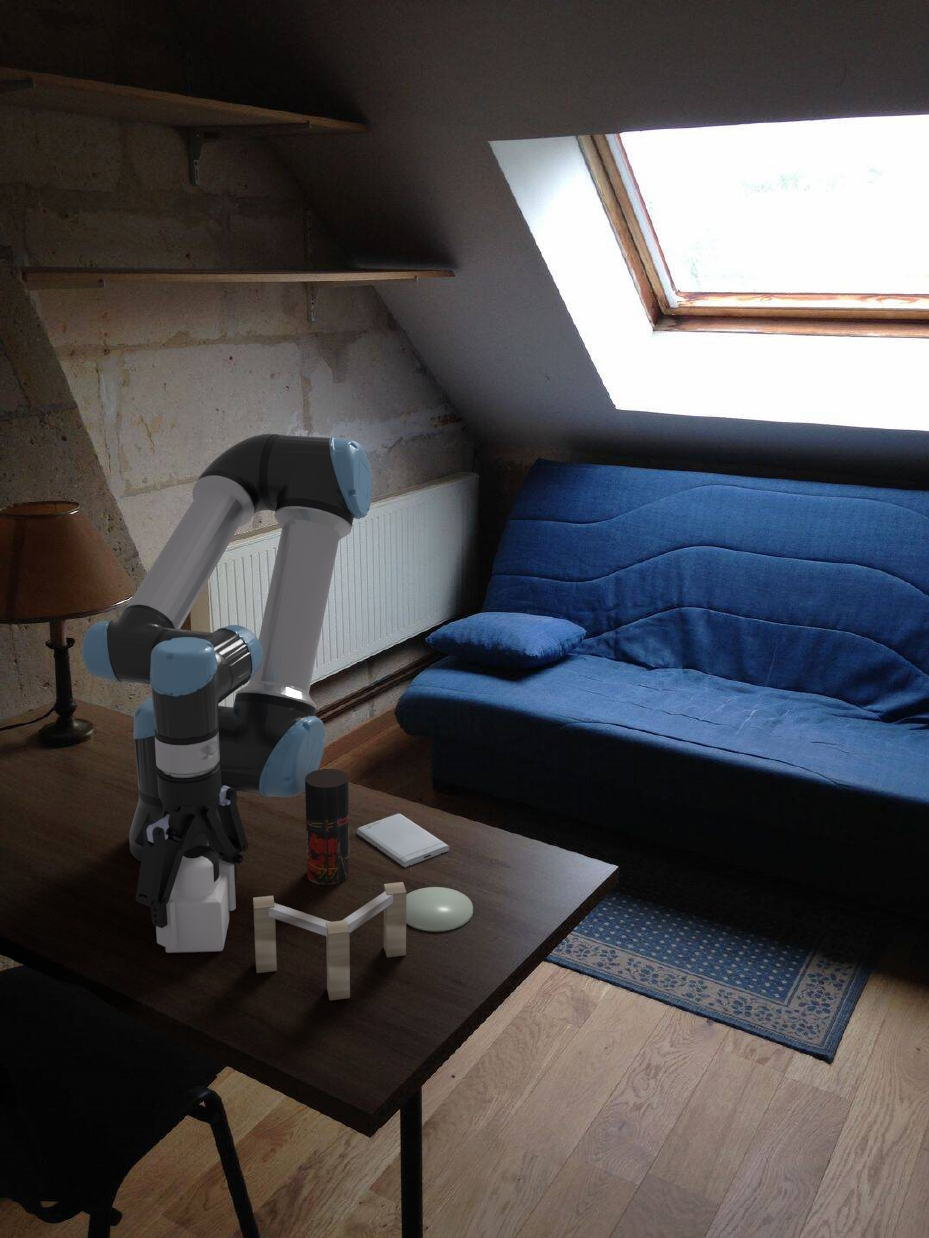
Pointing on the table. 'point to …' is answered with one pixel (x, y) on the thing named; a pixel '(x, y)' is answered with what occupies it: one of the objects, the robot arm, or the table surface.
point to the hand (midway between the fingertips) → (197, 925)
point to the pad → (437, 909)
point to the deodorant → (327, 826)
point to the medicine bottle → (200, 902)
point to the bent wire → (332, 933)
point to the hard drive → (402, 840)
